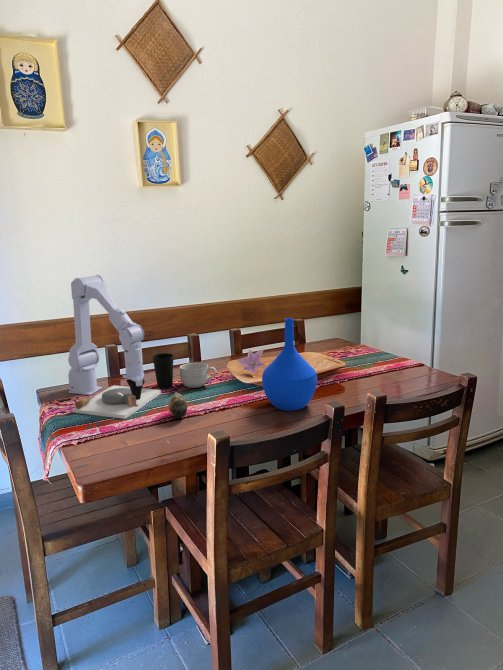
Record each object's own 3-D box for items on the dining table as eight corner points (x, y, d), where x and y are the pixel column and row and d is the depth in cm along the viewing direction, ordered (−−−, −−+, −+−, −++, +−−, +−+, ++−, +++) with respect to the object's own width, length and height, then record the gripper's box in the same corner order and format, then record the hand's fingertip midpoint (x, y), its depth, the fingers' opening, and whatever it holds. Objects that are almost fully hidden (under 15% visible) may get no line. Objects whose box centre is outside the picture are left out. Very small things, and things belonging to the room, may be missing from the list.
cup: (171, 390, 191) (169, 359, 188) (151, 389, 193) (149, 358, 190) (178, 383, 199) (176, 353, 196) (159, 382, 200) (157, 352, 197)
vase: (253, 401, 179) (251, 316, 172) (300, 392, 186) (300, 311, 179) (277, 420, 163) (275, 328, 155) (327, 410, 170) (328, 321, 162)
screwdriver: (81, 408, 172) (80, 401, 172) (75, 409, 173) (74, 402, 172) (97, 399, 180) (96, 392, 180) (92, 399, 181) (90, 393, 181)
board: (73, 412, 173) (72, 408, 173) (113, 388, 195) (113, 384, 195) (125, 418, 167) (124, 414, 166) (160, 393, 189) (160, 389, 188)
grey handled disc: (96, 398, 181) (95, 390, 180) (124, 390, 188) (123, 382, 187) (119, 410, 170) (118, 401, 169) (147, 401, 177) (147, 392, 176)
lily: (236, 372, 213) (230, 356, 207) (260, 358, 216) (255, 342, 210) (251, 389, 205) (245, 372, 198) (275, 374, 207) (270, 357, 201)
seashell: (166, 413, 170) (164, 390, 168) (182, 410, 172) (181, 387, 170) (173, 424, 162) (172, 400, 160) (191, 420, 164) (190, 397, 162)
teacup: (175, 388, 193) (173, 368, 191) (189, 379, 203) (188, 359, 201) (208, 392, 188) (207, 371, 186) (221, 383, 198) (220, 363, 196)
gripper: (117, 357, 178) (121, 394, 181) (125, 369, 165) (129, 408, 168) (138, 354, 181) (141, 391, 184) (147, 366, 168) (150, 405, 171)
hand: (136, 399), depth 176 cm, fingers closed, pressing on grey handled disc
